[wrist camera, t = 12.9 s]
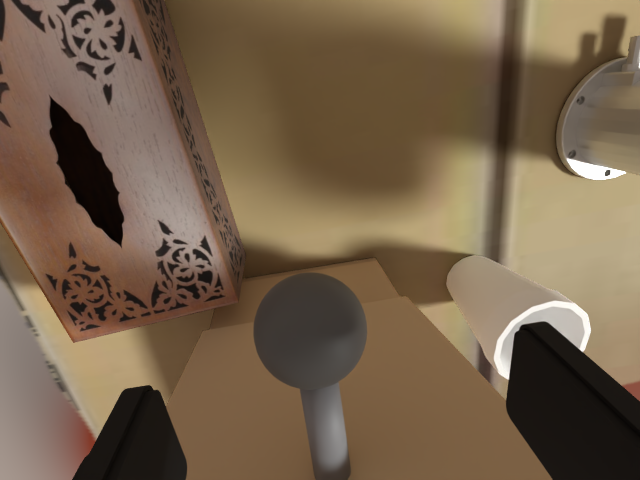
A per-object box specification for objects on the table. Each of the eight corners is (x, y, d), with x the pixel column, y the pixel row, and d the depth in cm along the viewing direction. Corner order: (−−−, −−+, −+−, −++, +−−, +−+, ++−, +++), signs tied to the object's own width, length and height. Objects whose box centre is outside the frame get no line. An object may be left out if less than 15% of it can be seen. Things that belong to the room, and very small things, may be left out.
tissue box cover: (246, 254, 40) (238, 302, 31) (119, 285, 40) (73, 342, 31) (159, -15, 30) (111, -62, 21) (-13, 21, 30) (-141, -11, 20)
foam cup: (520, 269, 45) (609, 332, 34) (468, 321, 48) (535, 397, 36) (471, 229, 42) (550, 282, 30) (419, 286, 44) (474, 357, 33)
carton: (219, 282, 41) (205, 337, 32) (375, 257, 42) (404, 303, 33) (252, 409, 49) (248, 483, 40) (383, 385, 50) (408, 451, 41)
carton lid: (204, 339, 32) (180, 231, 29) (407, 304, 33) (397, 199, 31) (78, 619, 12) (-20, 361, 10) (588, 506, 13) (596, 256, 11)
